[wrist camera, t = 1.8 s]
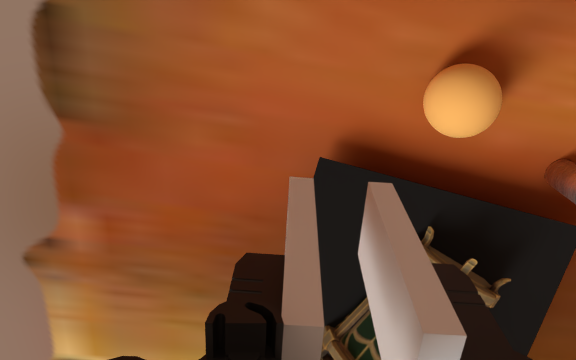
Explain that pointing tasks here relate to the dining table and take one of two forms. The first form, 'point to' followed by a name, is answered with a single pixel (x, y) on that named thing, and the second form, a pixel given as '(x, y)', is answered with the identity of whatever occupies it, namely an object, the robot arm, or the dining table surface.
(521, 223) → the lantern
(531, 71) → the dining table surface
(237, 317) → the robot arm
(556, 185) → the post
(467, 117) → the ball
